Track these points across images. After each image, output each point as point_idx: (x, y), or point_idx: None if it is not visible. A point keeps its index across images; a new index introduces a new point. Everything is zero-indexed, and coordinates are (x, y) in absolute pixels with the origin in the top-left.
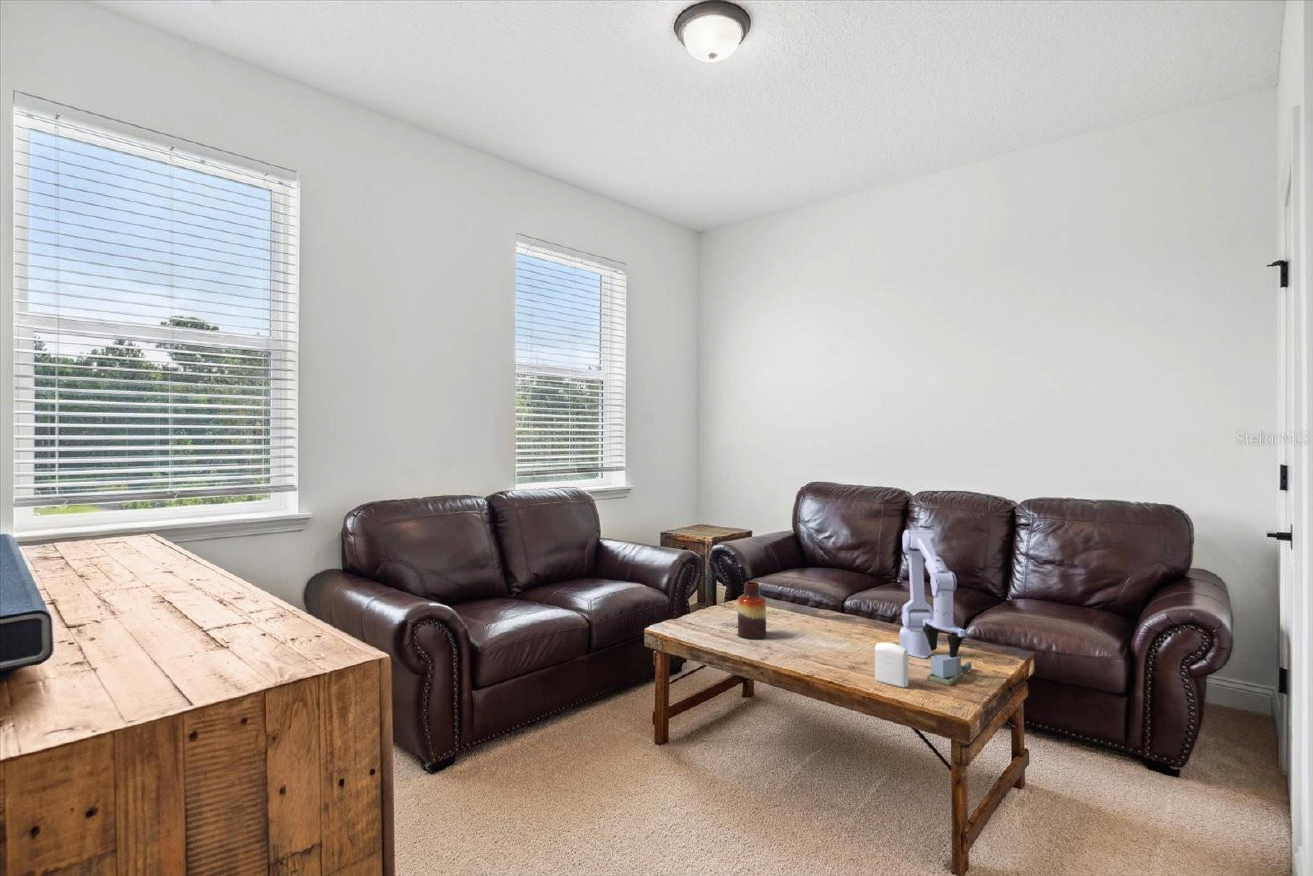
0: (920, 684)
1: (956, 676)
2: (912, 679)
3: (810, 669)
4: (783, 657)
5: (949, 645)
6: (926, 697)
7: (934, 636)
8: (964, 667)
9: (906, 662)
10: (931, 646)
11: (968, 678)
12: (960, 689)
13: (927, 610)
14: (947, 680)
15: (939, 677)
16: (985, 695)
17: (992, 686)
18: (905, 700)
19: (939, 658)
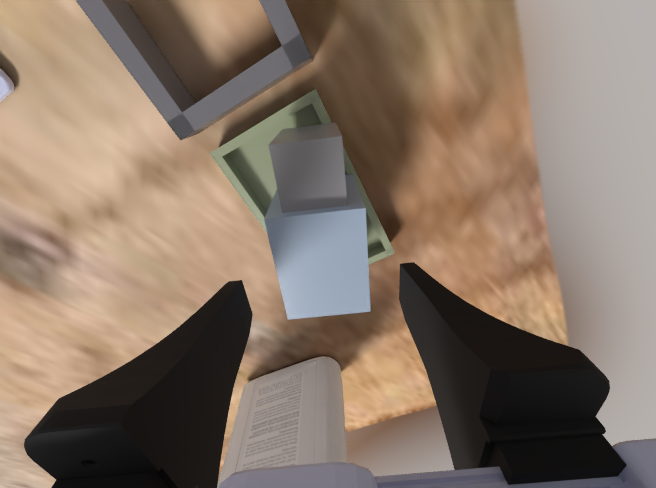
0: (332, 319)
1: (359, 180)
2: (284, 314)
3: None
4: (52, 477)
5: (434, 384)
6: (421, 360)
7: (208, 375)
8: (307, 59)
9: (345, 454)
10: (245, 338)
11: (358, 86)
12: (434, 231)
13: None
14: (384, 257)
15: None
16: (533, 186)
17: (499, 51)
18: (407, 405)
19: (332, 304)
